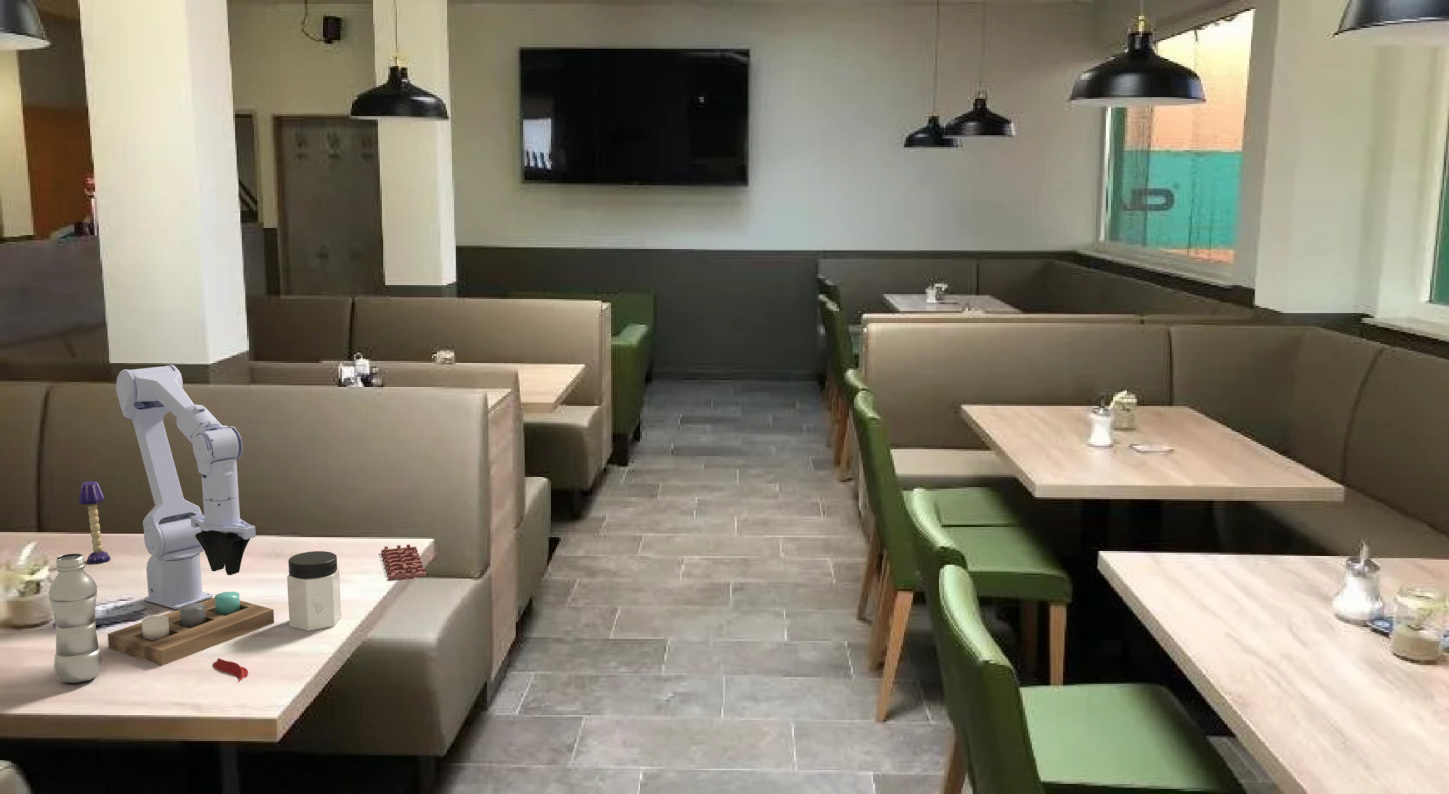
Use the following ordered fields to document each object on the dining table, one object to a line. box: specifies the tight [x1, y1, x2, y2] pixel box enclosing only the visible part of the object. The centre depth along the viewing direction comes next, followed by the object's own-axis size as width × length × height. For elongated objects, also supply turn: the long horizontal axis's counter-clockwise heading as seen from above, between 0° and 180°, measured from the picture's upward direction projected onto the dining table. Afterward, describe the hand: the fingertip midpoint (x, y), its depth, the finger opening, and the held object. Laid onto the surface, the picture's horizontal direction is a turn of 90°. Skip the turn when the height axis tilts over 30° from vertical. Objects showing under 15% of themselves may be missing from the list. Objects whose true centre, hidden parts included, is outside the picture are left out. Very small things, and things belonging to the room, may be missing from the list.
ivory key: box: [141, 615, 169, 641], centre depth 193 cm, size 4×4×3 cm
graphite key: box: [178, 602, 206, 627], centre depth 199 cm, size 4×4×3 cm
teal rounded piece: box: [214, 591, 241, 615], centre depth 205 cm, size 4×4×3 cm
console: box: [107, 597, 275, 666], centre depth 199 cm, size 14×22×2 cm, turn 151°
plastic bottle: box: [48, 552, 104, 684], centre depth 179 cm, size 6×7×20 cm
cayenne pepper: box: [212, 657, 249, 683], centre depth 185 cm, size 12×5×2 cm, turn 30°
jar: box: [286, 550, 342, 632], centre depth 205 cm, size 9×8×12 cm
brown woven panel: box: [380, 543, 427, 581], centre depth 238 cm, size 7×19×2 cm, turn 21°
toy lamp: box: [78, 480, 111, 565], centre depth 236 cm, size 5×5×17 cm
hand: (225, 571), depth 204 cm, fingers open, 3 cm apart
